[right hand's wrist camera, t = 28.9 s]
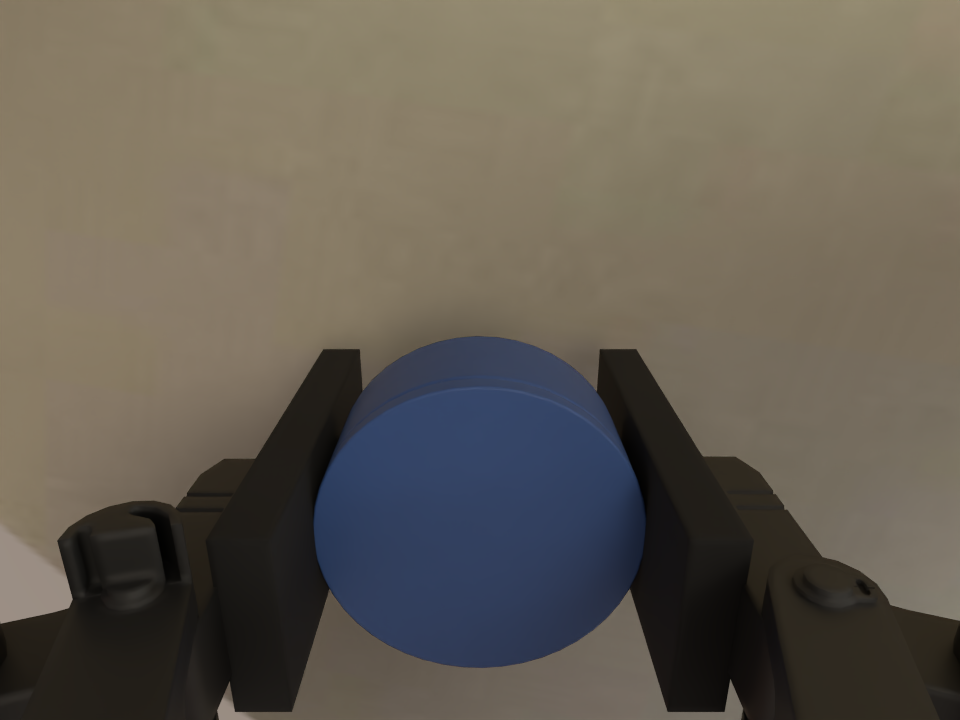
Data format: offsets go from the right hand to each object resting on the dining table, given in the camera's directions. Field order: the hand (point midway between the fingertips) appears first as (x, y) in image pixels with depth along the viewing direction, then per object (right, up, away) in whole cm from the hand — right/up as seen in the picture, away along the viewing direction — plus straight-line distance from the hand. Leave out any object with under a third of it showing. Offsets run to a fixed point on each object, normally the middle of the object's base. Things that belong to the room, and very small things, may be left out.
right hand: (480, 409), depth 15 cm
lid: (0, -1, -4) cm, 4 cm away
